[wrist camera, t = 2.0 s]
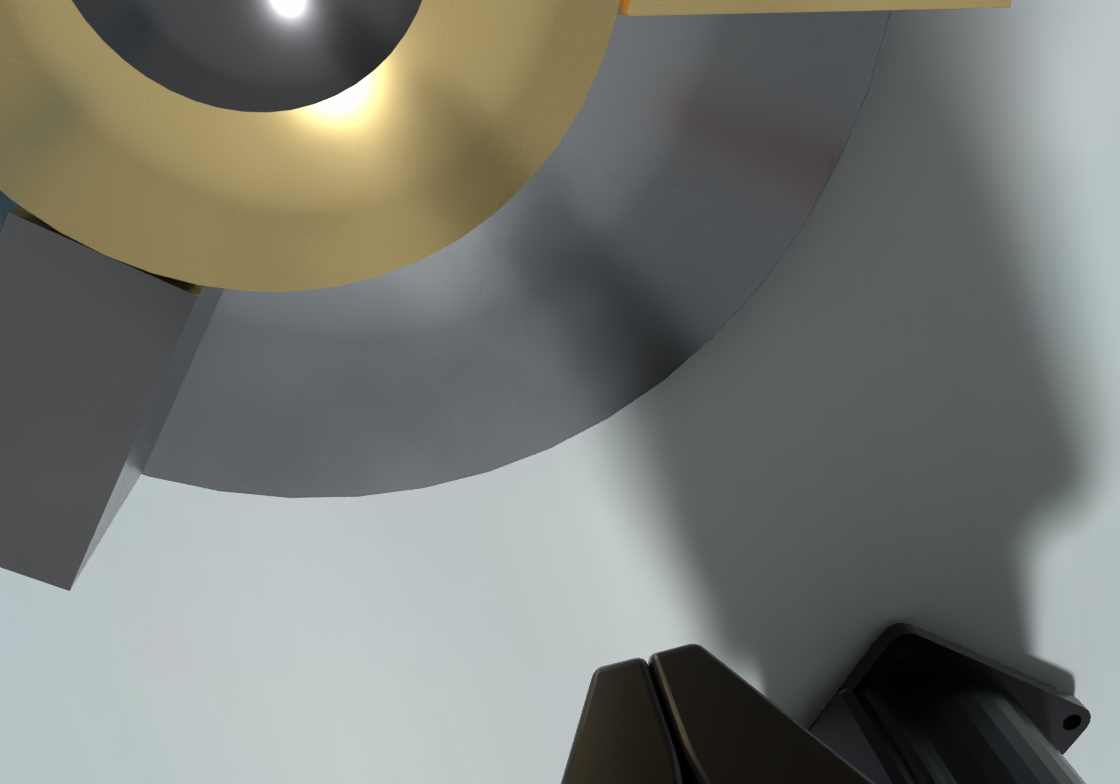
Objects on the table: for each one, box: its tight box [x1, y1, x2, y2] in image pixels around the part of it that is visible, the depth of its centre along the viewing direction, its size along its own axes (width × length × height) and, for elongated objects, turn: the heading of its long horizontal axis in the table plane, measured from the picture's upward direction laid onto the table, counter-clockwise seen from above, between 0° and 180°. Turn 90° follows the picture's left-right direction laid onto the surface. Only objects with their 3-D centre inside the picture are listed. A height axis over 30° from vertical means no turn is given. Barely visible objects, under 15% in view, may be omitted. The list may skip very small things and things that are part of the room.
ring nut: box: [0, 0, 1011, 591], centre depth 13 cm, size 18×15×4 cm
